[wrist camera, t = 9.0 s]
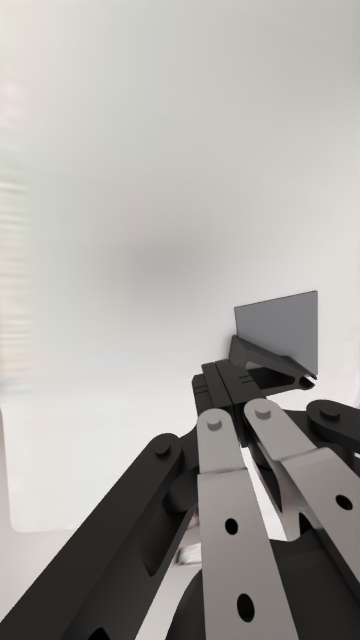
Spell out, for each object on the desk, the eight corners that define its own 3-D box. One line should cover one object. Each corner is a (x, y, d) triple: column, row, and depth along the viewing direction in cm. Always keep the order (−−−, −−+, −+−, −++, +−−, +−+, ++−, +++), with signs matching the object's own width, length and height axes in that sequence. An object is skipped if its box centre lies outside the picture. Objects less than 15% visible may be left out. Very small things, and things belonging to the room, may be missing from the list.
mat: (315, 290, 33) (317, 291, 33) (316, 373, 37) (317, 374, 37) (234, 307, 33) (235, 308, 32) (244, 389, 37) (245, 390, 37)
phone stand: (246, 349, 28) (324, 355, 29) (233, 335, 34) (298, 340, 35) (235, 403, 30) (308, 407, 31) (224, 381, 36) (286, 385, 37)
